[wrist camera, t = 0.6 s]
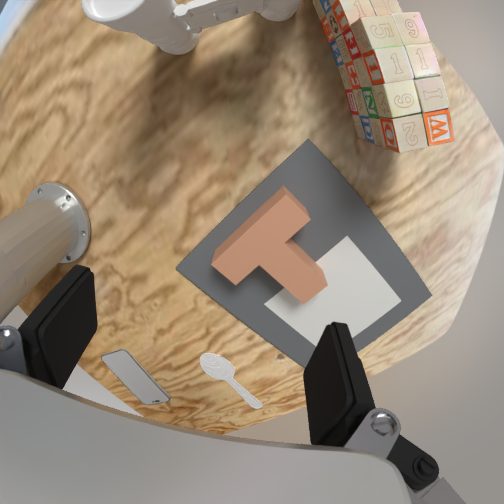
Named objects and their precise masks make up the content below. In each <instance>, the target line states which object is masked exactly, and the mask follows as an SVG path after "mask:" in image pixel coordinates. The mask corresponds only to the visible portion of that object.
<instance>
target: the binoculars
mask: <svg viewBox="0 0 504 504" xmlns="http://www.w3.org/2000/svg"><path fill="white" fill-rule="evenodd" d="M81 4H82V9H83V12H84V14H85V15H86V16H87V17H88V18H89V19H91V20H92V21H95V22H98V23H101V24H104V25H106V26H108V27H111V28H113V29H115V30H118V31H124V32H130V33H135V34H137V35H139V36H140V37H141V38H143V39H145V40H147V41H149V42H150V43H152V44H154V45H156V46H158V47H159V48H160V49H161V50H162V51H164V52H166V53H171V54H174V55H181V54H185V53H187V52H189V51H191V50H192V49H193V48H194V47H195V46H196V45H197V43H198V41H199V33H200V32H201V31H202V29H204V28H208V27H212V26H215V25H218V24H221V23H224V22H227V21H230V20H233V19H236V18H239V17H242V16H245V15H248V14H250V13H253V12H255V11H256V12H257V13H260V15H261V16H263V17H264V18H266V19H268V20H271V21H284V20H287V19H289V18H290V17H292V16H293V15H294V13H295V12H296V11H297V10H298V8H299V5H300V0H196V1H192V2H189V3H187V5H183V4H180V5H177V3H176V2H175V1H174V0H82V2H81Z"/></svg>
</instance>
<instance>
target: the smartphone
mask: <svg viewBox="0 0 504 504" xmlns="http://www.w3.org/2000/svg"><path fill="white" fill-rule="evenodd" d="M101 359H102V361H103V362H104V363H105V364H106V365H107V366H108V367H109V368H110V370H111V371H112V372H113V373H114V374H115V375H116V376H117V377H118V378H119V379H120V380H121V382H122V383H123V384H124V385H125V386H126V387H127V388H128V389H129V390H130V391H131V392H132V393H133V394H134V395H135V396H136V397H137V398H138V399H139V400H140V401H141V402H142V403H143V404H145V405H151V404H157V403H162V402H168V401H169V400H170V395H169V394H168V393H167V392H166V391H165V390H164V389H163V388H162V387H161V386H160V385H159V384H158V383H157V382H156V381H155V380H154V379H153V378H152V376H151V375H150V374H149V373H148V372H147V371H146V370H145V369H144V368H143V367H142V366H141V365H140V364H139V362H138V361H137V360H136V359H135V358H134V357H133V356H132V355H131V353H130V352H129V351H128V350H126V349H119V350H116V351H112V352H109V353H106V354H103V355H102V356H101Z"/></svg>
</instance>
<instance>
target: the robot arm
mask: <svg viewBox="0 0 504 504" xmlns="http://www.w3.org/2000/svg"><path fill="white" fill-rule="evenodd" d="M90 235H91V226H90V220H89V216H88V213H87V210H86V208H85V206H84V204H83V202H82V201H81V200H80V198H79V197H78V196H77V194H76V193H75V192H74V191H73V190H71V189H70V188H69V187H67V186H65V185H63V184H61V183H57V182H47V183H44V184H41V185H39V186H38V187H36V188H35V189H34V190H33V191H32V192H31V193H30V195H29V196H28V199H27V201H26V205H24V206H23V207H21V208H19V209H18V210H16V211H14V212H12V213H11V214H9V215H7V216H6V217H4V218H3V219H1V220H0V324H1V323H2V321H3V320H4V319H5V318H6V317H7V315H8V314H9V313H10V312H11V311H12V310H13V309H14V308H15V307H16V306H17V305H18V304H19V302H20V301H21V300H22V299H23V298H24V297H25V296H26V295H27V294H28V293H29V292H30V291H31V290H32V289H33V288H34V287H35V286H36V285H37V284H38V283H39V282H40V281H41V280H42V279H43V278H44V277H45V276H46V275H47V274H48V273H49V272H50V271H51V270H52V269H53V268H54V267H55V266H56V265H57V264H58V263H70V262H73V261H75V260H77V259H78V258H79V257H80V256H81V255H82V254H83V253H84V252H85V250H86V249H87V247H88V244H89V241H90ZM96 330H97V313H96V301H95V287H94V274H93V273H92V272H91V270H90V268H88V267H85V266H81V265H75V266H74V267H73V268H72V269H71V270H70V271H69V272H68V273H67V274H66V275H65V276H64V277H63V278H62V280H61V281H60V282H59V283H58V284H57V285H56V286H55V287H54V288H53V289H52V290H51V291H50V293H49V294H48V295H47V296H46V297H45V298H44V299H43V300H42V301H41V303H40V304H39V305H38V306H37V307H36V308H35V309H34V311H33V312H32V313H31V314H30V315H29V316H28V318H27V319H26V320H25V321H24V322H23V324H22V325H21V326H20V327H19V329H18V330H17V329H16V328H14V327H12V326H1V327H0V504H466V503H465V502H464V501H463V500H462V499H461V498H460V496H459V495H458V494H457V493H456V492H455V490H454V489H453V488H452V487H451V486H450V485H449V483H448V482H447V481H446V480H445V479H444V478H441V479H440V478H439V477H438V474H439V468H438V465H437V462H436V461H435V459H433V458H432V457H431V456H430V455H428V454H427V453H425V452H424V451H422V450H421V449H420V448H418V447H417V446H415V445H414V444H413V443H411V442H410V441H408V440H407V439H405V438H404V437H402V436H401V435H400V430H401V425H400V422H399V420H398V418H397V417H396V416H395V415H394V414H393V413H392V412H391V411H389V410H386V409H383V408H376V407H375V404H374V400H373V397H372V394H371V390H370V387H369V384H368V381H367V377H366V374H365V371H364V368H363V365H362V362H361V360H360V358H358V355H357V352H356V349H355V346H354V343H353V340H352V336H351V333H350V331H349V328H348V325H347V324H346V323H340V322H332V323H331V324H328V325H326V327H325V329H324V331H323V333H322V336H321V338H320V340H319V342H318V344H317V346H316V348H315V350H314V352H313V354H312V356H311V358H310V360H309V362H308V364H307V366H306V368H305V370H304V375H303V378H304V387H305V395H306V404H307V412H308V422H309V431H310V440H311V444H312V445H305V444H293V443H283V442H271V441H263V440H254V439H247V438H240V437H233V436H227V435H221V434H215V433H209V432H204V431H199V430H194V429H189V428H185V427H180V426H176V425H171V424H167V423H163V422H159V421H155V420H152V419H148V418H144V417H141V416H137V415H133V414H130V413H127V412H123V411H120V410H117V409H114V408H111V407H108V406H104V405H101V404H99V403H96V402H93V401H91V400H88V399H85V398H82V397H80V396H77V395H74V394H72V393H69V392H67V391H64V390H62V389H63V387H64V386H65V384H66V382H67V380H68V378H69V377H70V375H71V373H72V371H73V369H74V368H75V366H76V364H77V362H78V361H79V359H80V357H81V356H82V354H83V352H84V350H85V349H86V347H87V345H88V344H89V342H90V340H91V339H92V337H93V335H94V334H95V332H96Z"/></svg>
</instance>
